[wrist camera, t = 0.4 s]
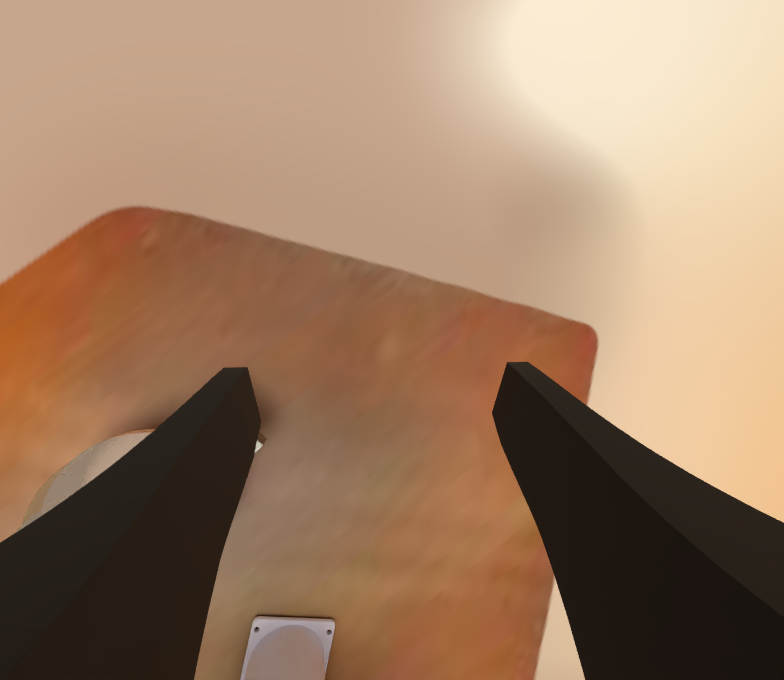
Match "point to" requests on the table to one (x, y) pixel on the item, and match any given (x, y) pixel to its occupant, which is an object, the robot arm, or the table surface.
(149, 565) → the robot arm
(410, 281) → the table surface
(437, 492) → the table surface
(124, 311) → the table surface
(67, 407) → the table surface
